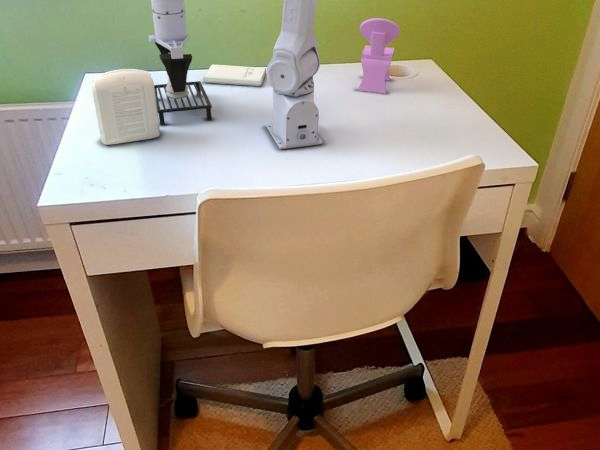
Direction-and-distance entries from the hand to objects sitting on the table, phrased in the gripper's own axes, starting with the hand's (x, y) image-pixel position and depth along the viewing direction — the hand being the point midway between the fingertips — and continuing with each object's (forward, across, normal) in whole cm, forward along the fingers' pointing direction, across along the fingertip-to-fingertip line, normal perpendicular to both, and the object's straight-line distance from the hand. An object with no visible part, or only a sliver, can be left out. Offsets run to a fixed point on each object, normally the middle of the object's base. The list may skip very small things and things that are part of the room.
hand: (176, 84), depth 106 cm
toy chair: (+6, -3, +44) cm, 44 cm away
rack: (+5, 0, 0) cm, 5 cm away
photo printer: (+6, +10, -10) cm, 15 cm away
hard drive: (+6, -14, +14) cm, 21 cm away
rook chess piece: (+2, 0, 0) cm, 2 cm away
